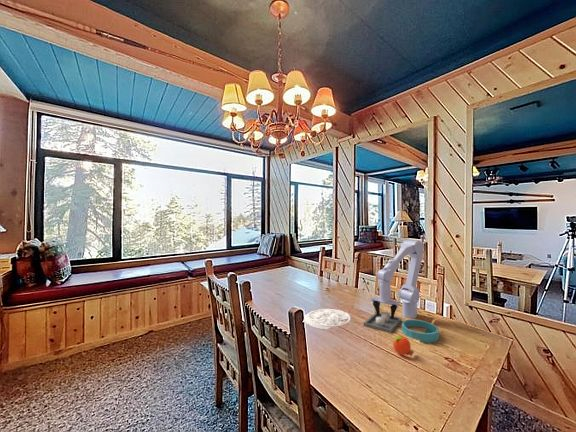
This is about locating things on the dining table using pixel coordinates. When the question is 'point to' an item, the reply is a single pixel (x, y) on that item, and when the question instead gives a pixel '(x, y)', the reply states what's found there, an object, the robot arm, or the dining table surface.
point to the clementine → (401, 345)
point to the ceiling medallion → (326, 318)
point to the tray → (388, 325)
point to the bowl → (426, 337)
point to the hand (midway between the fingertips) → (385, 316)
